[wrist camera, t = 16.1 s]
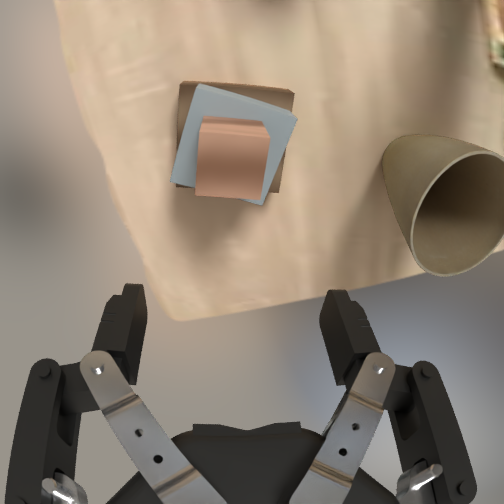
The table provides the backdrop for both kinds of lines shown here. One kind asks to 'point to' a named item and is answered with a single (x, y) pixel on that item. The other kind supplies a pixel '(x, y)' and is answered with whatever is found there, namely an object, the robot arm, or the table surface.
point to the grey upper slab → (231, 106)
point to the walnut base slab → (261, 93)
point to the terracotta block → (231, 158)
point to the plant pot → (446, 200)
